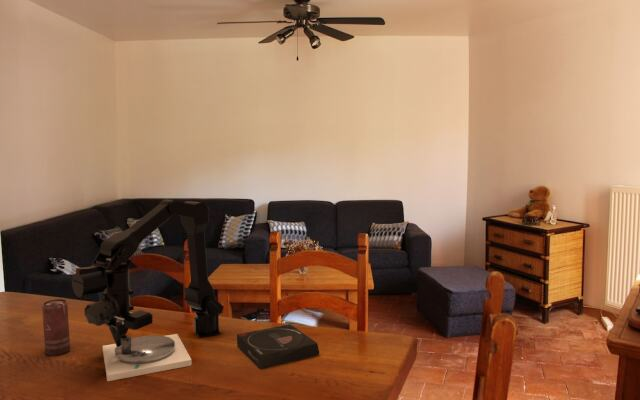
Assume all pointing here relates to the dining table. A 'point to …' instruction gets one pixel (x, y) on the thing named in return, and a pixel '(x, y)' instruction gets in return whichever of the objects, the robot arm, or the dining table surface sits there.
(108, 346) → the board
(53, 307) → the can
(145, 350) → the dial
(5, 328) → the dining table surface
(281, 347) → the portable cd player
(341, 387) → the dining table surface
